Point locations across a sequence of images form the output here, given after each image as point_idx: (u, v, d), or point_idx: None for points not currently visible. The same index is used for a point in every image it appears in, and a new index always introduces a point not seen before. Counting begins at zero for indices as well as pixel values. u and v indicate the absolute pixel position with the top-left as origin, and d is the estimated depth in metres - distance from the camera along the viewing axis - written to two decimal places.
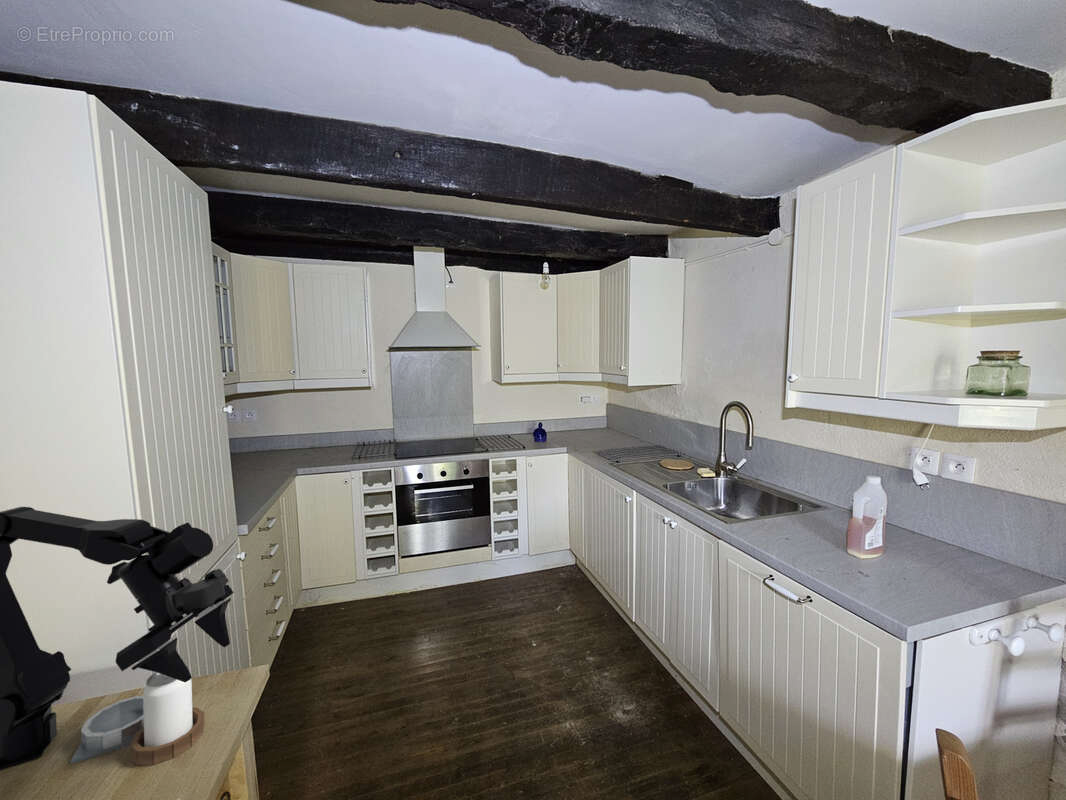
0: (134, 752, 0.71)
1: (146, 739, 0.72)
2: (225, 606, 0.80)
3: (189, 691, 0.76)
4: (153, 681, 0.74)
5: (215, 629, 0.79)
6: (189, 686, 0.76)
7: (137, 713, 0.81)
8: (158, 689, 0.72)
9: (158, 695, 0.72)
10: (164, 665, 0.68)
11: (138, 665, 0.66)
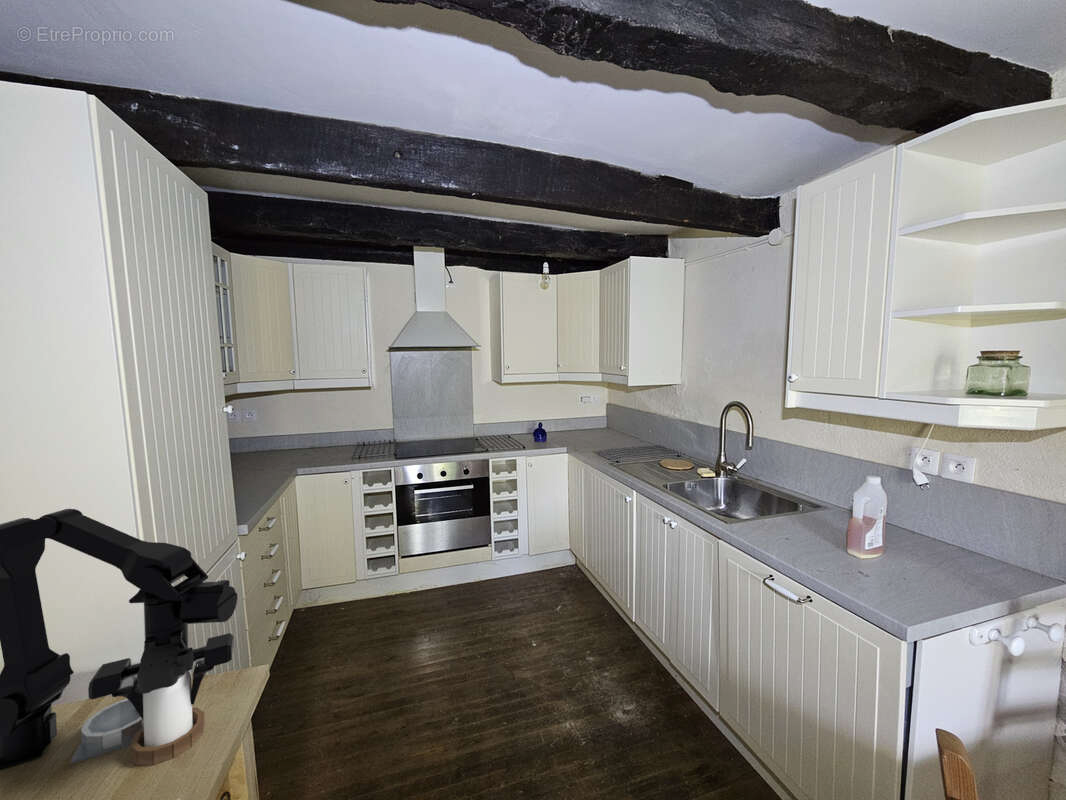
0: (134, 752, 0.71)
1: (146, 739, 0.72)
2: (202, 673, 0.76)
3: (189, 691, 0.76)
4: None
5: None
6: (189, 686, 0.76)
7: (137, 713, 0.81)
8: (158, 689, 0.72)
9: (158, 695, 0.72)
10: None
11: None
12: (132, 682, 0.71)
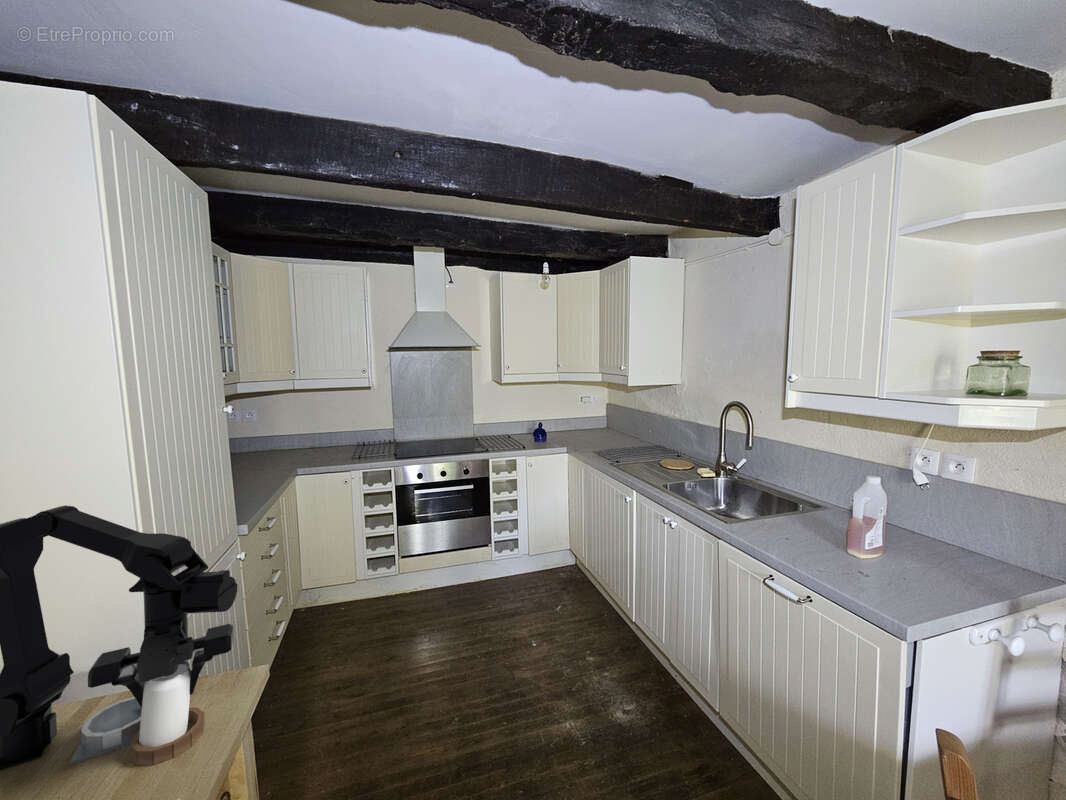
0: (134, 752, 0.71)
1: (142, 734, 0.72)
2: (201, 663, 0.76)
3: (189, 688, 0.76)
4: None
5: None
6: (189, 683, 0.76)
7: (137, 713, 0.81)
8: (159, 684, 0.72)
9: (159, 690, 0.72)
10: None
11: None
12: (132, 671, 0.71)
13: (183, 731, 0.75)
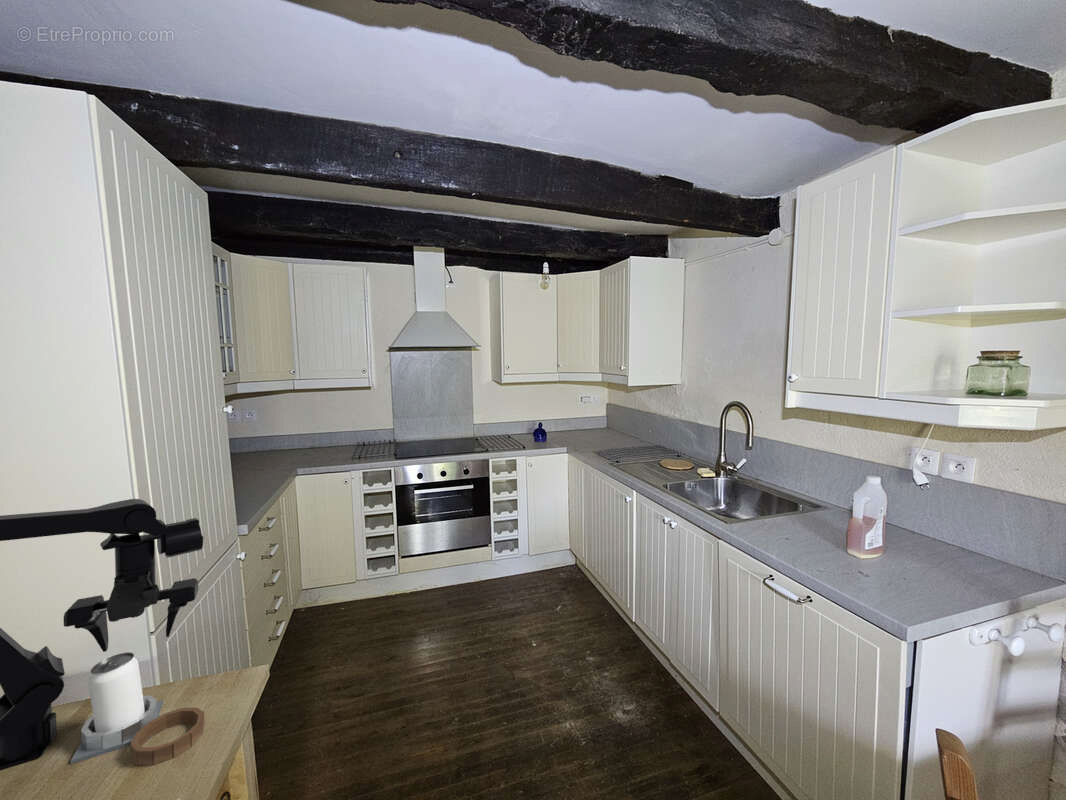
0: (134, 752, 0.71)
1: (100, 725, 0.74)
2: (176, 609, 0.85)
3: (139, 673, 0.79)
4: (99, 670, 0.75)
5: None
6: (138, 668, 0.79)
7: None
8: (109, 674, 0.75)
9: (112, 679, 0.75)
10: None
11: None
12: (93, 616, 0.79)
13: (143, 712, 0.79)
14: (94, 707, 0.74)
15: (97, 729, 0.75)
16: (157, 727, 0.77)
